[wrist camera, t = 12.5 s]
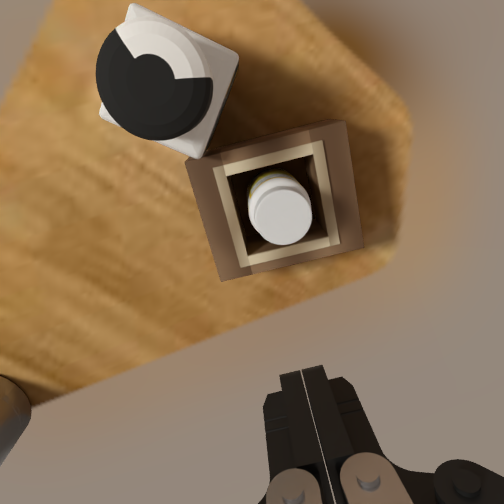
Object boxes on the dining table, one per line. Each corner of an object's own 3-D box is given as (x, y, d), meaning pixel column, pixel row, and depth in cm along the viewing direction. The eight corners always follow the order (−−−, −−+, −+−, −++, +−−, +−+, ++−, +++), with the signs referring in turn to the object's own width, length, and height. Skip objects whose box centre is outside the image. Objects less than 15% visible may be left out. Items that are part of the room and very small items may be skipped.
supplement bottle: (291, 224, 35) (307, 257, 27) (241, 213, 34) (242, 244, 27) (305, 173, 33) (326, 192, 25) (253, 161, 33) (257, 177, 25)
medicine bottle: (207, 150, 32) (191, 172, 21) (126, 115, 31) (63, 119, 20) (239, 66, 30) (242, 40, 19) (153, 24, 29) (101, -30, 18)
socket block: (223, 259, 36) (220, 282, 31) (192, 154, 32) (184, 162, 28) (347, 229, 35) (364, 248, 30) (329, 118, 32) (346, 120, 27)
